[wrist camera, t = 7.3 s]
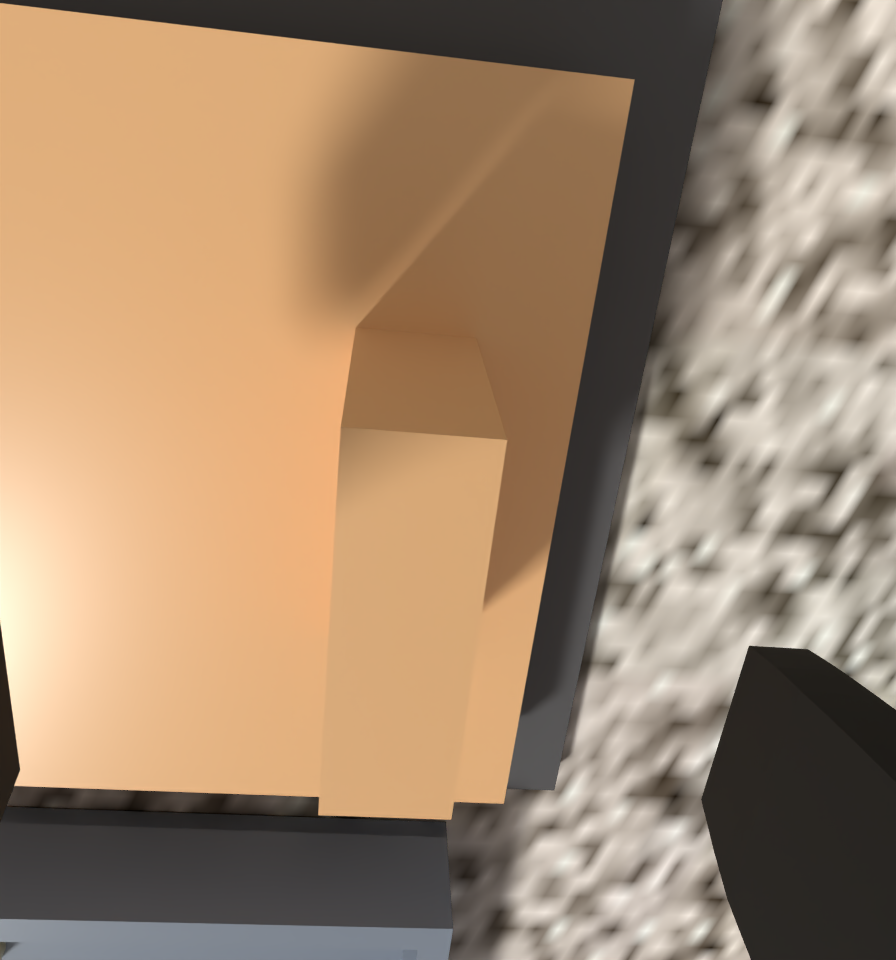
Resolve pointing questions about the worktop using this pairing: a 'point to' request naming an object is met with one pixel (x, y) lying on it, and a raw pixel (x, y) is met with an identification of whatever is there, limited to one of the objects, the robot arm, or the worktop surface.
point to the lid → (284, 403)
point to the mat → (626, 258)
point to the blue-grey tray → (220, 887)
